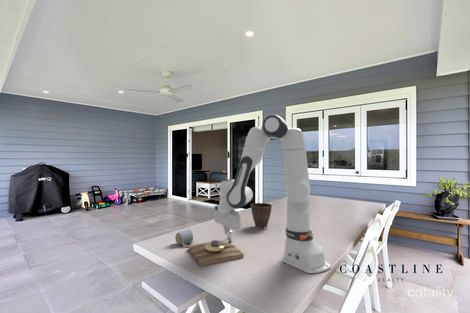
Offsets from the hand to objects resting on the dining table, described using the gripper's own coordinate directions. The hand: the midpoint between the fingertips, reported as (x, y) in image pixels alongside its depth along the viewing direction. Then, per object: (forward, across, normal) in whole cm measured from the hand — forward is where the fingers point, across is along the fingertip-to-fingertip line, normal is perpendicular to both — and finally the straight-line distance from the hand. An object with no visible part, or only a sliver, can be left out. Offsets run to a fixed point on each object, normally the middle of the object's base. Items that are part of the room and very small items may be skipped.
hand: (226, 234), depth 124 cm
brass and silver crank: (+5, -2, +6) cm, 8 cm away
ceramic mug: (+9, +19, +15) cm, 26 cm away
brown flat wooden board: (+8, -2, +9) cm, 12 cm away
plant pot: (+8, +16, -42) cm, 46 cm away
